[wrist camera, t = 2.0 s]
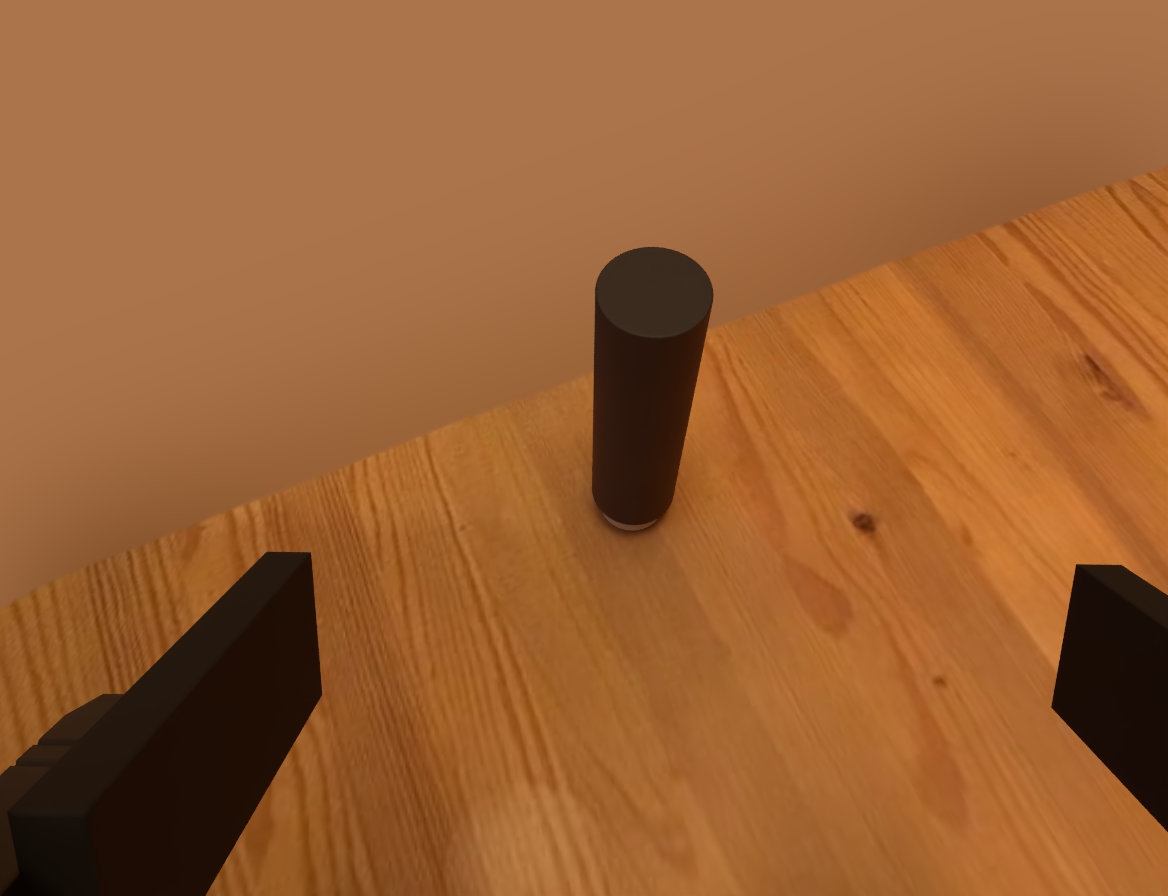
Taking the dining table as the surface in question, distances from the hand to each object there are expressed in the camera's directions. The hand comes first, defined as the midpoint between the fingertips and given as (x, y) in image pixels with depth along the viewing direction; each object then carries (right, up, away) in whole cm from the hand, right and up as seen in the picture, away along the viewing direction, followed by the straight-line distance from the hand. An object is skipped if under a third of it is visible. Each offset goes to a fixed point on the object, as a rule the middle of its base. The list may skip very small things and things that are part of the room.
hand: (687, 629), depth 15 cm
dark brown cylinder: (0, +1, +20) cm, 20 cm away
